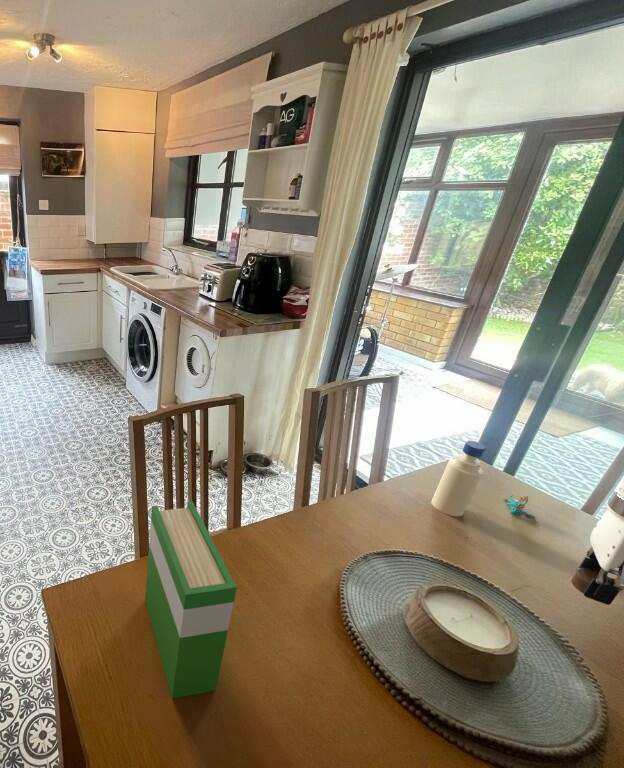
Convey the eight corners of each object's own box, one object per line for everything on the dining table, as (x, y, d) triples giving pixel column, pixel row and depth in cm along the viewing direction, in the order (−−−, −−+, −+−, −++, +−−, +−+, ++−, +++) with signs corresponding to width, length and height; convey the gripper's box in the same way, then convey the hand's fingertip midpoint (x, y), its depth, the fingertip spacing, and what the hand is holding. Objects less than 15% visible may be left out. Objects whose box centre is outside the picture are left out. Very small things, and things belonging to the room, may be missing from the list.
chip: (607, 586, 75) (614, 576, 74) (615, 606, 71) (622, 596, 70) (568, 573, 78) (574, 563, 77) (574, 591, 74) (580, 581, 73)
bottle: (463, 505, 108) (493, 443, 100) (463, 520, 103) (495, 456, 95) (431, 495, 111) (458, 434, 103) (430, 508, 106) (458, 446, 98)
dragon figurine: (482, 493, 111) (511, 503, 103) (507, 483, 111) (538, 491, 103) (491, 515, 111) (520, 526, 103) (515, 505, 111) (547, 515, 103)
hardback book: (145, 600, 81) (151, 505, 71) (180, 595, 82) (192, 501, 72) (171, 698, 65) (185, 594, 55) (215, 690, 66) (236, 587, 56)
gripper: (704, 553, 59) (638, 636, 66) (660, 491, 71) (608, 567, 78) (626, 530, 63) (572, 611, 70) (597, 475, 75) (554, 549, 83)
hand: (592, 587), depth 74 cm, fingers closed on chip, 5 cm apart
